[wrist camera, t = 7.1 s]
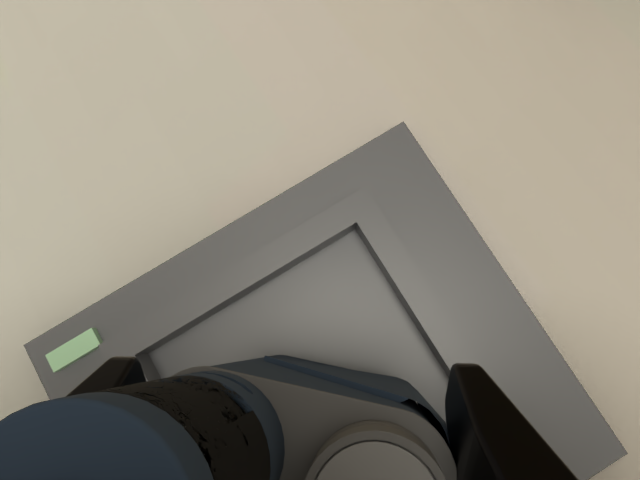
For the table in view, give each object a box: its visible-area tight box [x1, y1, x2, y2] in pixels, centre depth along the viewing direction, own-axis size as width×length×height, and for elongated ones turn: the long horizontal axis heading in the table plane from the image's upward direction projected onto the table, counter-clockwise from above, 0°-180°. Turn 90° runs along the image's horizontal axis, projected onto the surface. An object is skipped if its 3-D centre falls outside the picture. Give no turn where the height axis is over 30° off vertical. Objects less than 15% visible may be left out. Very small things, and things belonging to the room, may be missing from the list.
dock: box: [24, 122, 628, 480], centre depth 15 cm, size 14×12×2 cm
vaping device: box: [0, 355, 457, 480], centre depth 9 cm, size 3×5×12 cm, turn 78°
